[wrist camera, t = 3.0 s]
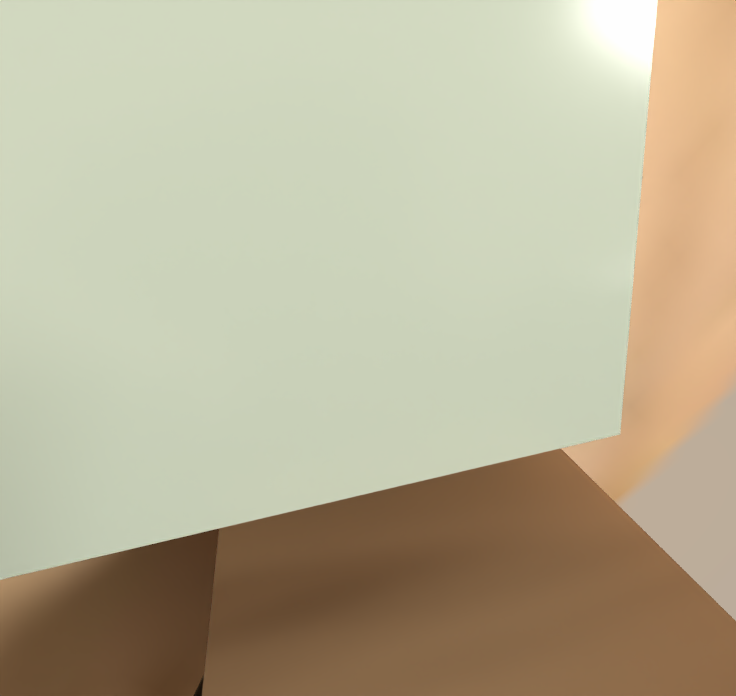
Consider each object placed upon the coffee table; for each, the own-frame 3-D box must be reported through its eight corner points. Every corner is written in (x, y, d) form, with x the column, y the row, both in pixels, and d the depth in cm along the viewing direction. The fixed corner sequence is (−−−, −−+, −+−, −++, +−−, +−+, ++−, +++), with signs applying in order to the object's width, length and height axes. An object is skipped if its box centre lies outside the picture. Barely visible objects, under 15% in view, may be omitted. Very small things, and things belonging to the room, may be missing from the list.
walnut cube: (520, 615, 11) (721, 970, 6) (283, 681, 10) (306, 1139, 5) (519, 408, 9) (814, 698, 4) (224, 473, 8) (179, 913, 3)
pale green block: (519, 355, 8) (619, 434, 6) (67, 448, 7) (-21, 585, 5) (516, -226, 6) (698, -492, 3) (-208, -204, 5) (-682, -563, 2)
